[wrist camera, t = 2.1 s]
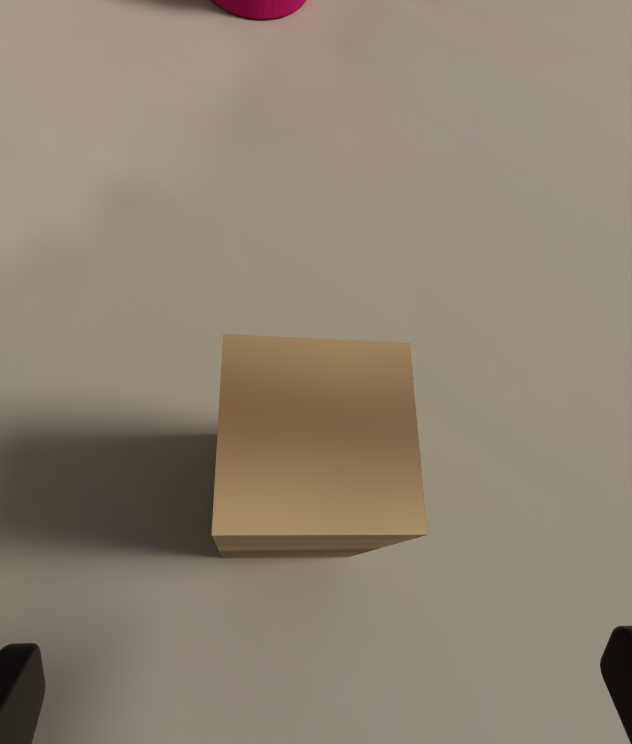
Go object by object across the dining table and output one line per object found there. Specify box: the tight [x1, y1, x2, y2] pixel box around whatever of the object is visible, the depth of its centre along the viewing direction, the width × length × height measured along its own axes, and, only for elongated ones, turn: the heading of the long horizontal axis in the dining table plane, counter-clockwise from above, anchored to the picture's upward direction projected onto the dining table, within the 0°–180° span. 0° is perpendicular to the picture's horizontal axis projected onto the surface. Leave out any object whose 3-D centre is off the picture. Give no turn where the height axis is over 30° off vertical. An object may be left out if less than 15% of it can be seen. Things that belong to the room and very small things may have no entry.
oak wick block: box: [212, 334, 427, 558], centre depth 16 cm, size 4×4×8 cm
